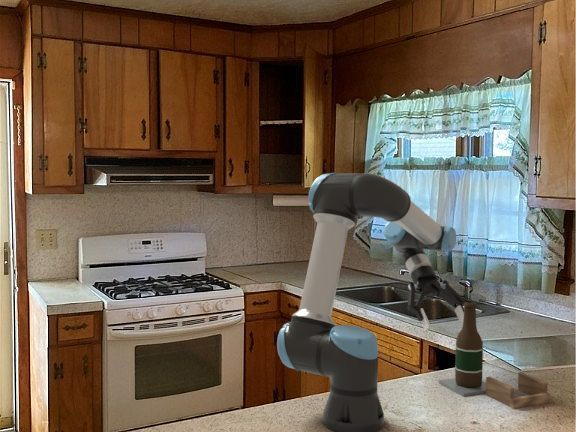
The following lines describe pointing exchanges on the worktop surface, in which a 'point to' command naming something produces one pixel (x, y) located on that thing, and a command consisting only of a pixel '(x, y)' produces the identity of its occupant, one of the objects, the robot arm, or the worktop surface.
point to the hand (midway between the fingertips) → (447, 327)
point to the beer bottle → (469, 351)
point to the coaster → (462, 390)
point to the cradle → (525, 384)
